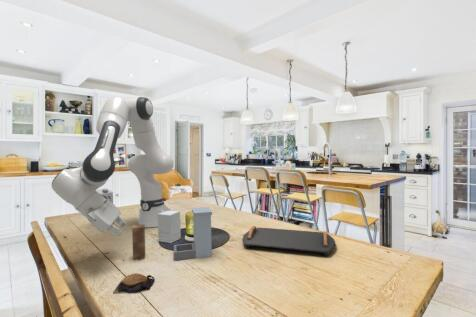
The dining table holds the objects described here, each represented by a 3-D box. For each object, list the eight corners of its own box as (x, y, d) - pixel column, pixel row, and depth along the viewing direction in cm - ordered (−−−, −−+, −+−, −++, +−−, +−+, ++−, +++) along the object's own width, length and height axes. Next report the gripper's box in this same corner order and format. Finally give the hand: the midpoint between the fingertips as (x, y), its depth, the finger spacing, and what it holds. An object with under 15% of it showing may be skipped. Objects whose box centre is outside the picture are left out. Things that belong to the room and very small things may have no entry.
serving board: (333, 239, 115) (333, 225, 115) (337, 260, 93) (337, 244, 93) (250, 232, 127) (250, 220, 127) (236, 250, 105) (236, 235, 105)
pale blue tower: (174, 261, 94) (172, 214, 93) (173, 252, 102) (172, 209, 102) (212, 256, 97) (212, 211, 97) (209, 248, 106) (208, 206, 105)
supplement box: (181, 238, 119) (180, 211, 118) (170, 243, 112) (170, 215, 111) (168, 236, 122) (168, 210, 121) (157, 241, 115) (157, 213, 115)
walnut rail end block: (133, 260, 95) (132, 228, 95) (134, 255, 99) (133, 225, 99) (144, 258, 96) (143, 227, 96) (145, 254, 100) (144, 224, 100)
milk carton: (108, 222, 148) (106, 187, 147) (114, 224, 144) (113, 188, 143) (95, 225, 142) (94, 189, 141) (101, 227, 138) (100, 190, 137)
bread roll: (111, 296, 73) (110, 284, 72) (122, 281, 81) (121, 270, 81) (149, 294, 73) (149, 281, 73) (156, 279, 82) (155, 267, 82)
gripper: (91, 205, 84) (124, 231, 86) (106, 194, 104) (133, 216, 106) (76, 219, 83) (110, 246, 85) (94, 206, 103) (121, 228, 105)
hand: (123, 229), depth 96 cm, fingers open, 8 cm apart
